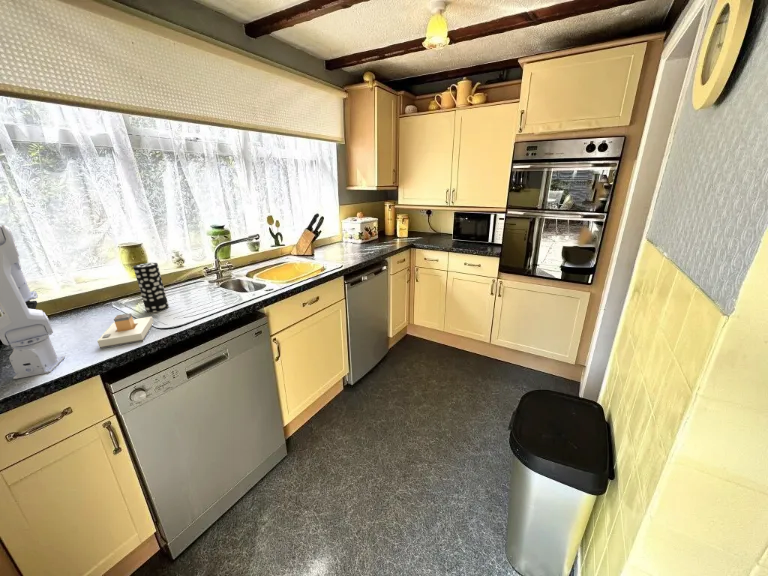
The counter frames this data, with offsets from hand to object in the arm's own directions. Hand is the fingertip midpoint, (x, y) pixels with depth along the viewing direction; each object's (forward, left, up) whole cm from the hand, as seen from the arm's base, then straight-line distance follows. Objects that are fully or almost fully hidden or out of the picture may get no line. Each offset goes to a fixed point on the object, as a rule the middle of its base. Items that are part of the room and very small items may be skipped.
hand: (30, 324), depth 100 cm
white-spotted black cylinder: (+26, -28, -10) cm, 39 cm away
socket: (0, -24, -9) cm, 26 cm away
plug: (0, -24, -9) cm, 25 cm away
